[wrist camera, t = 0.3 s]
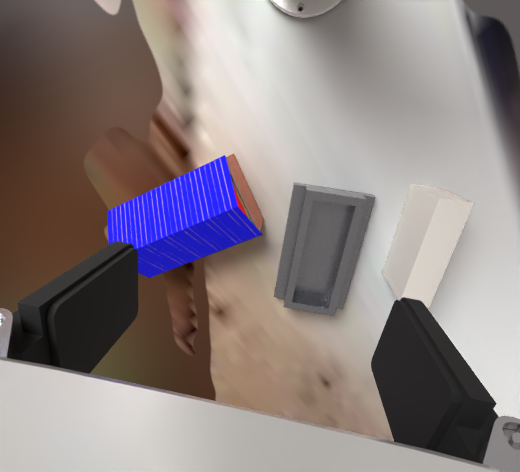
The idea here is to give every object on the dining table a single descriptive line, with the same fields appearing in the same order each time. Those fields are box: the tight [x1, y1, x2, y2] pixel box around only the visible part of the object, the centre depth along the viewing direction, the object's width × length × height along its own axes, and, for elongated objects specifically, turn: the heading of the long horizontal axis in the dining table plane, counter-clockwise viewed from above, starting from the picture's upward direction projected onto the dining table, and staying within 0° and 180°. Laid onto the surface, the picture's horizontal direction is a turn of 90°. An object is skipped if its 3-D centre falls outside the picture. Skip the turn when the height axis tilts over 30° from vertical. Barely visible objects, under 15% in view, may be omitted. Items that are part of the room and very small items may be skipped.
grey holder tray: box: [274, 183, 375, 316], centre depth 46 cm, size 20×12×4 cm, turn 172°
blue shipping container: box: [107, 154, 264, 278], centre depth 42 cm, size 12×20×12 cm, turn 114°
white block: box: [382, 184, 474, 308], centre depth 41 cm, size 15×4×9 cm, turn 172°
